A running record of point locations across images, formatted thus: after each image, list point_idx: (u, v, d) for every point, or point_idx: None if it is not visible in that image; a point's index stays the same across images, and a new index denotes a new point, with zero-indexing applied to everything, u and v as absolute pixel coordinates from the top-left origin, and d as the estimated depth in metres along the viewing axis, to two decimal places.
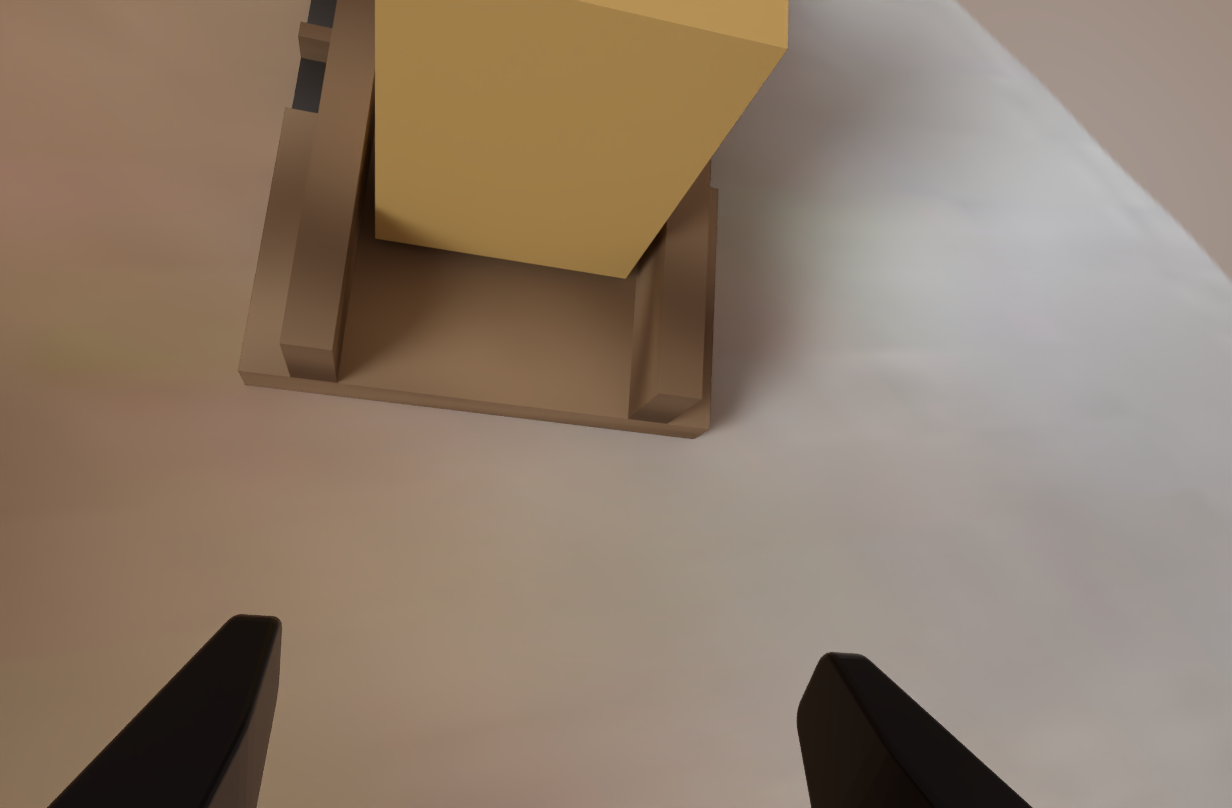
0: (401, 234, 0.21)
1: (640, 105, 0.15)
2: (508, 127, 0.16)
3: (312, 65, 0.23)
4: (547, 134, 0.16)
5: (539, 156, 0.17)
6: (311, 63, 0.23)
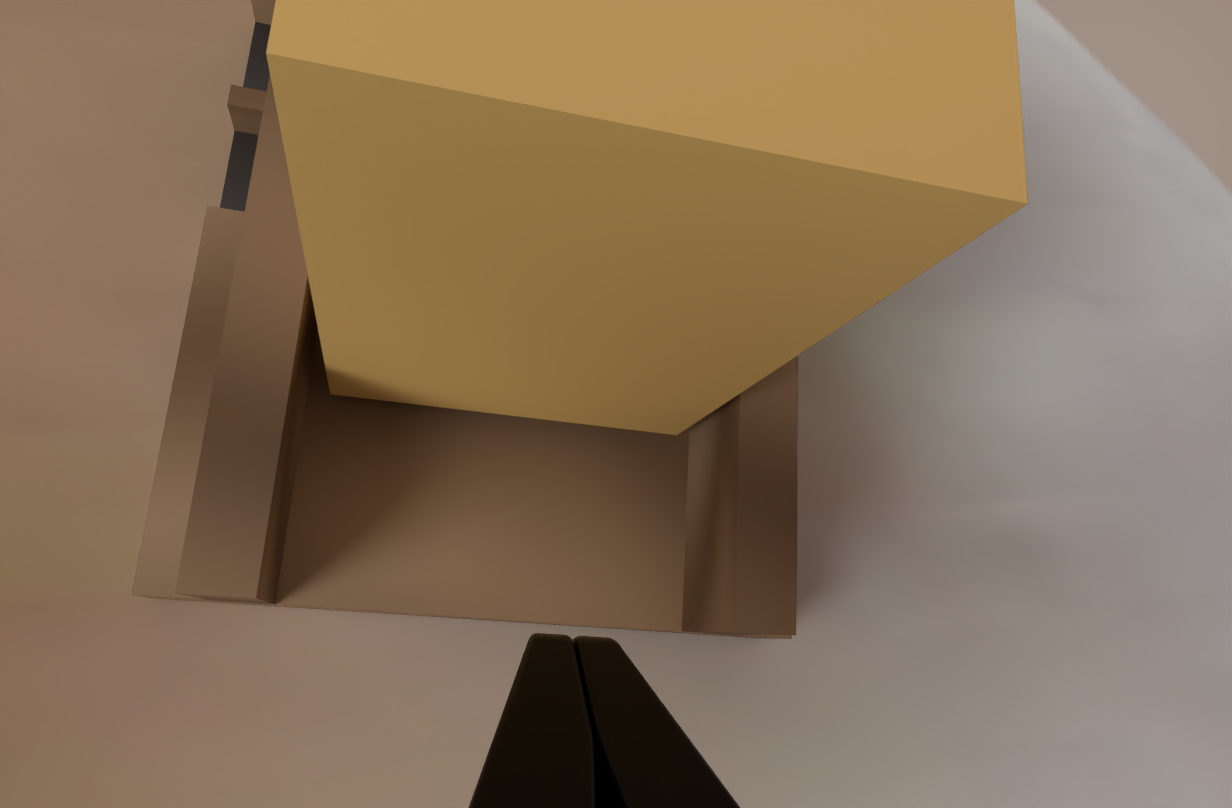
0: (366, 391, 0.15)
1: (740, 270, 0.09)
2: (521, 291, 0.10)
3: (250, 141, 0.17)
4: (582, 300, 0.10)
5: (568, 323, 0.11)
6: (248, 138, 0.17)
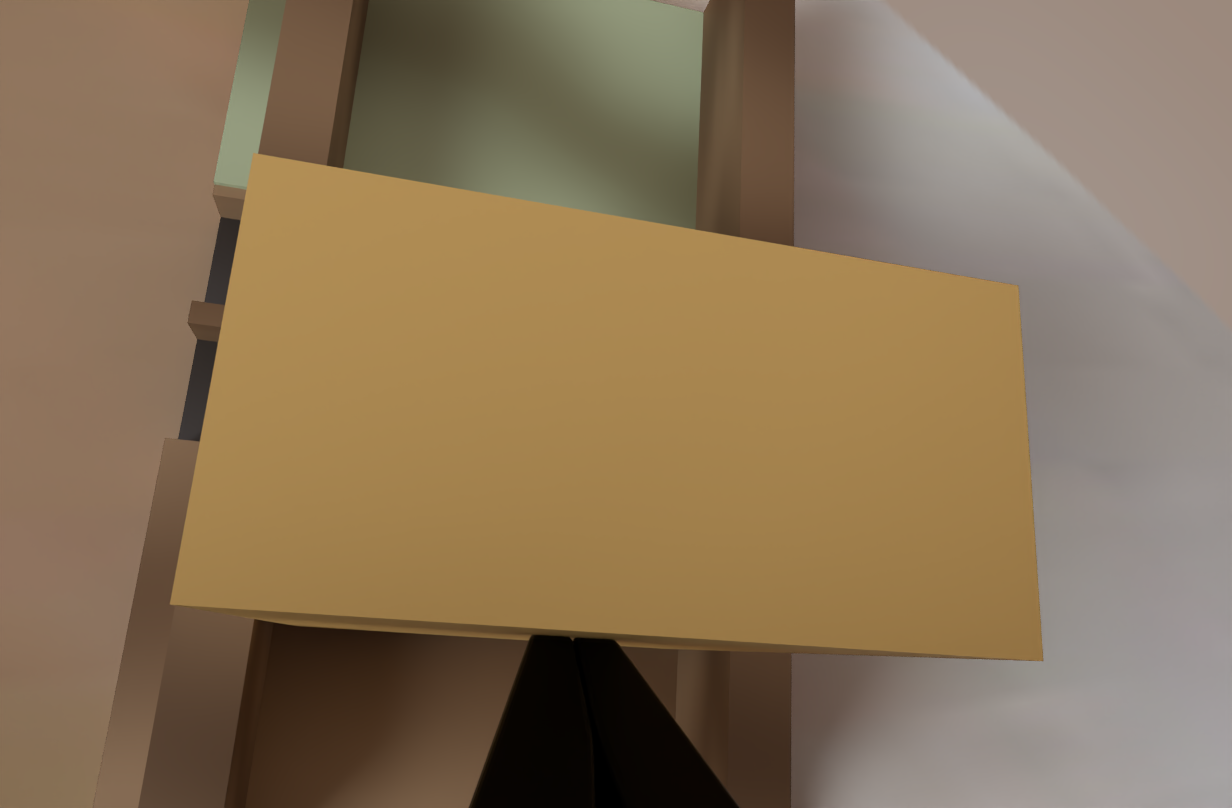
0: None
1: (725, 645, 0.08)
2: None
3: (213, 349, 0.16)
4: None
5: None
6: (212, 347, 0.16)
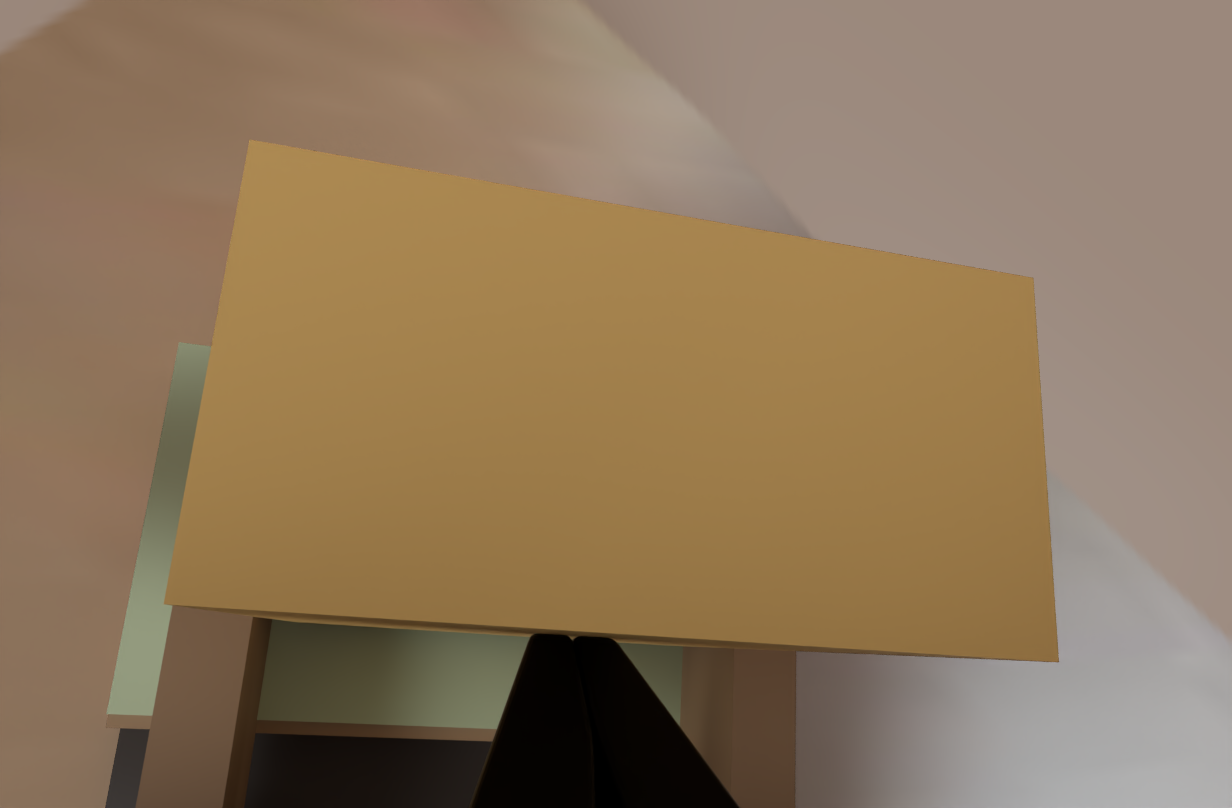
0: (334, 624, 0.14)
1: (731, 645, 0.08)
2: None
3: None
4: None
5: None
6: None
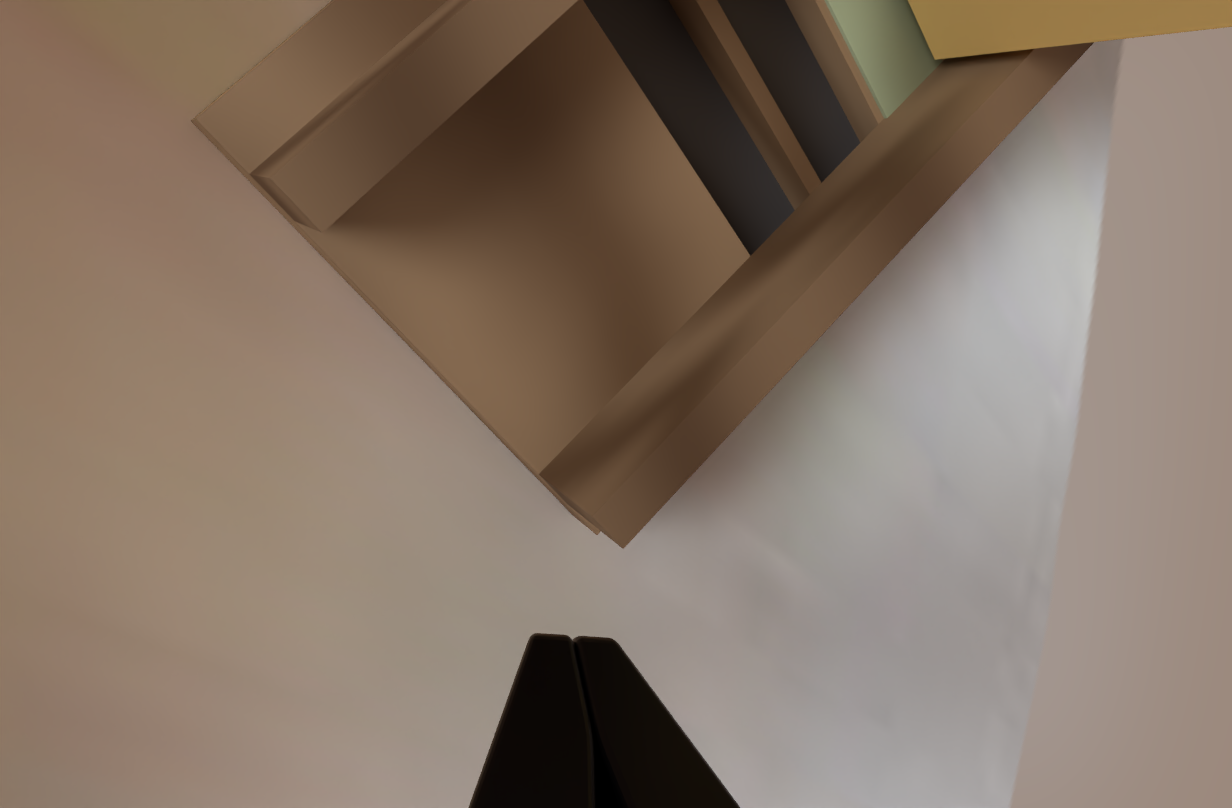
0: None
1: None
2: None
3: None
4: None
5: None
6: None
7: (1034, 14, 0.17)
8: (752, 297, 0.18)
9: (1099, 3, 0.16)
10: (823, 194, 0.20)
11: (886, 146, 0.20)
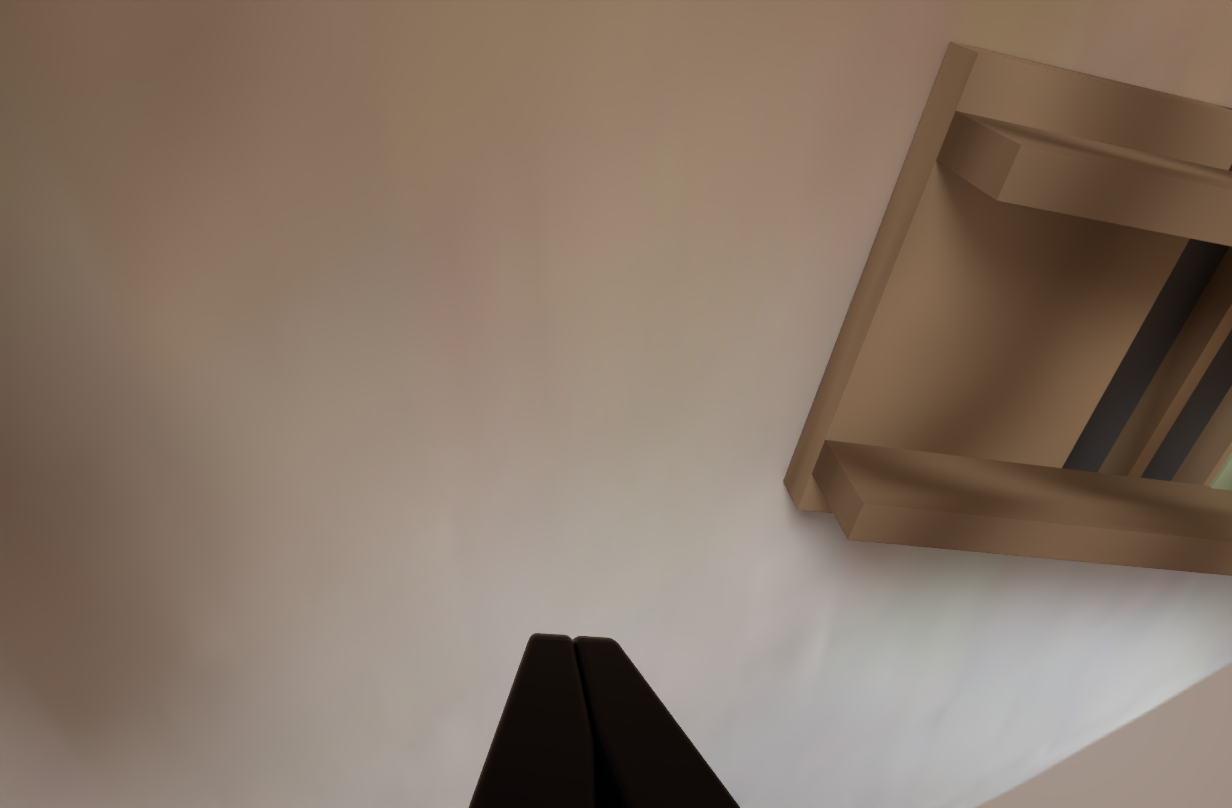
0: None
1: None
2: None
3: None
4: None
5: None
6: None
7: None
8: (1052, 493, 0.22)
9: None
10: (1138, 485, 0.23)
11: (1203, 503, 0.23)
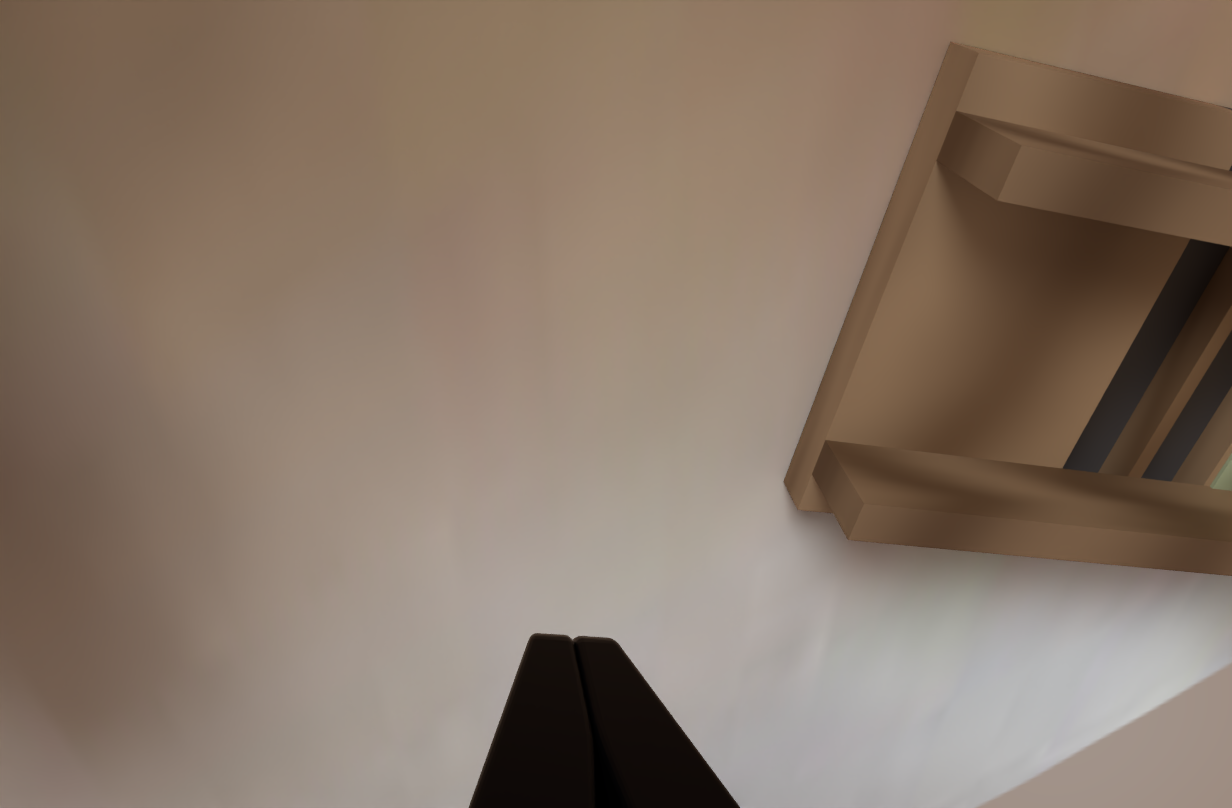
0: None
1: None
2: None
3: None
4: None
5: None
6: None
7: None
8: (1053, 493, 0.22)
9: None
10: (1139, 486, 0.23)
11: (1203, 503, 0.23)
